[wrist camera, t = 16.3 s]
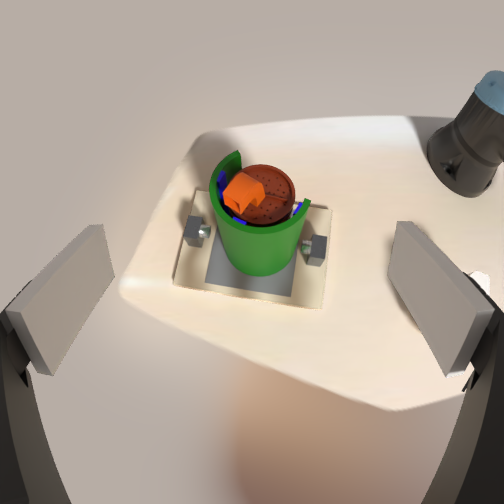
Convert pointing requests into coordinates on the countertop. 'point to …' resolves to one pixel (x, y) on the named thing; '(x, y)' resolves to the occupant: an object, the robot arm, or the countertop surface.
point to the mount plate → (251, 287)
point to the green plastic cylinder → (256, 215)
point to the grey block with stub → (315, 250)
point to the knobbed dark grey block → (196, 231)
